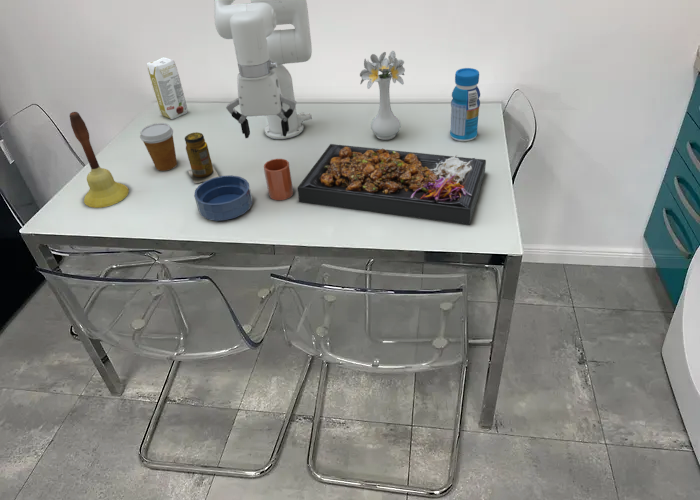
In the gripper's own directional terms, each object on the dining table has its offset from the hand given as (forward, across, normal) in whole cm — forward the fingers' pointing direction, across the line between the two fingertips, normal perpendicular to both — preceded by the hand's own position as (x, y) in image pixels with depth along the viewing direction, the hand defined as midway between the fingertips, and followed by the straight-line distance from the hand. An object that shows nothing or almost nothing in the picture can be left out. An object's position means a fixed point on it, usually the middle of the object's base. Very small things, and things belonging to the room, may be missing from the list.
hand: (266, 134), depth 143 cm
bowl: (+18, +13, +5) cm, 23 cm away
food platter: (+18, -32, -1) cm, 36 cm away
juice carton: (+17, +44, -56) cm, 73 cm away
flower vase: (+17, -30, -32) cm, 47 cm away
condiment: (+18, +23, -12) cm, 32 cm away
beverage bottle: (+18, -54, -29) cm, 64 cm away
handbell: (+18, +49, -3) cm, 52 cm away
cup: (+18, -1, 0) cm, 18 cm away
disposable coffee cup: (+18, +36, -19) cm, 44 cm away
